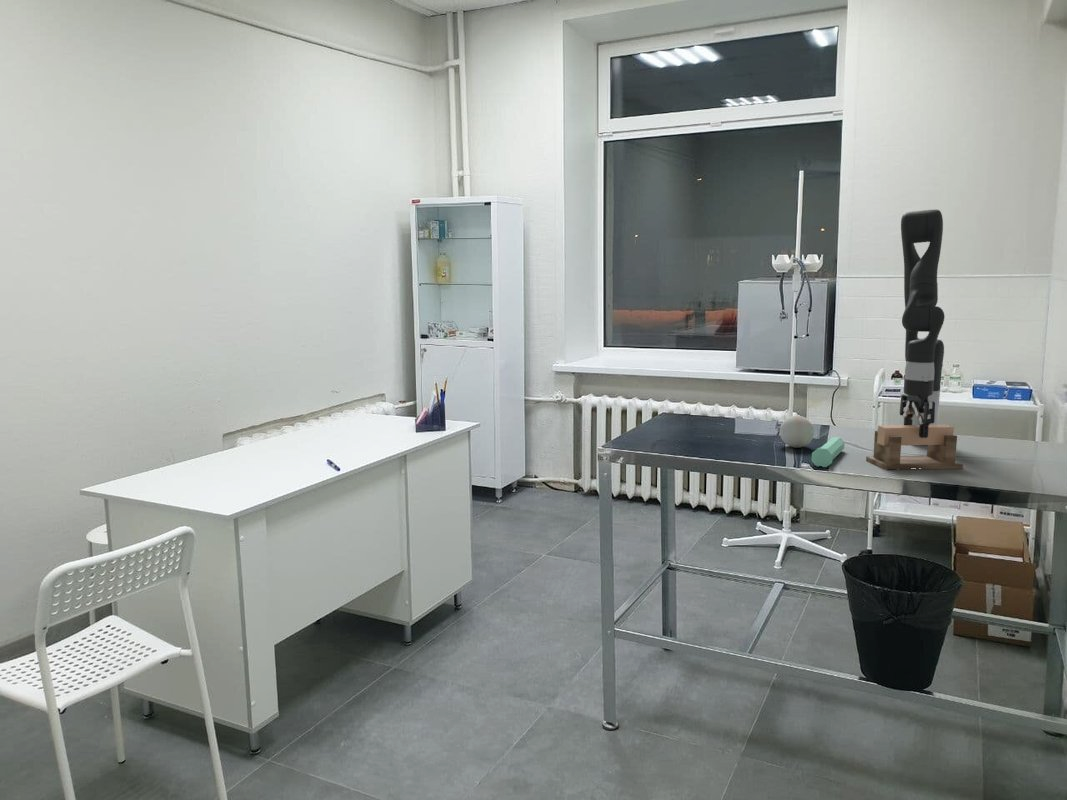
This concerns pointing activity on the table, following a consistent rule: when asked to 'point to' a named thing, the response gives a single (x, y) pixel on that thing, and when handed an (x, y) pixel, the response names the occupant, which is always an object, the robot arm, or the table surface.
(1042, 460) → the table surface
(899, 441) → the rack
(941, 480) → the table surface
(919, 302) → the robot arm
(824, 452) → the mint green octagonal prism
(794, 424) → the grey ball
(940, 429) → the tan rectangular block
